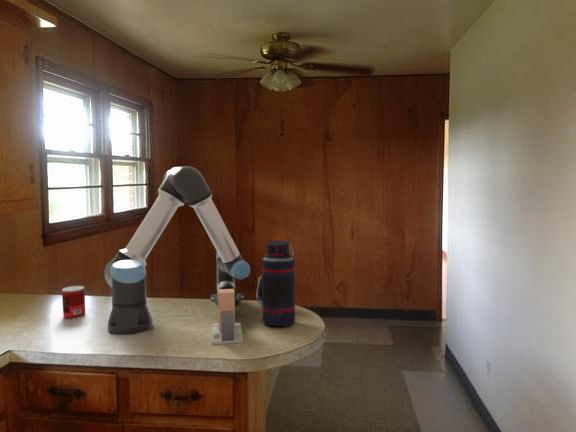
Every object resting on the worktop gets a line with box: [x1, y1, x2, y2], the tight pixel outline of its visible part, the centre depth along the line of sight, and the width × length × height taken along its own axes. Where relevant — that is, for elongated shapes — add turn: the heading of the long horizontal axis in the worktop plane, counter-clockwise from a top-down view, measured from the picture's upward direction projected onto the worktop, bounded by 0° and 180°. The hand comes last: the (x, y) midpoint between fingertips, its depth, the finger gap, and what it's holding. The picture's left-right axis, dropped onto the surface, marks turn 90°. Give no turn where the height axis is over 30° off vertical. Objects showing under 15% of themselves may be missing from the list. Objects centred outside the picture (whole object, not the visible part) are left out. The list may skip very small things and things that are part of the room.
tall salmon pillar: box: [212, 289, 242, 330], centre depth 162 cm, size 10×5×13 cm, turn 99°
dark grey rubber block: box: [221, 311, 234, 341], centre depth 151 cm, size 4×3×9 cm
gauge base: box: [211, 324, 244, 345], centre depth 157 cm, size 10×15×2 cm, turn 9°
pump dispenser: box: [255, 274, 262, 307], centre depth 192 cm, size 10×10×15 cm
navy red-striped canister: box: [261, 240, 296, 329], centre depth 169 cm, size 14×12×30 cm
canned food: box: [61, 285, 86, 320], centre depth 180 cm, size 8×8×11 cm
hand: (228, 308), depth 165 cm, fingers closed
